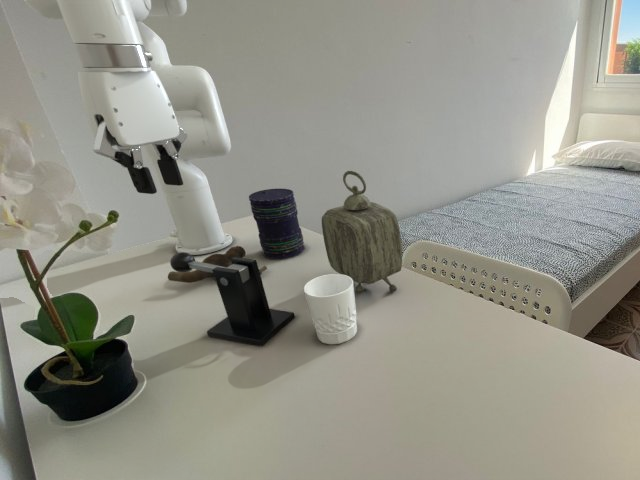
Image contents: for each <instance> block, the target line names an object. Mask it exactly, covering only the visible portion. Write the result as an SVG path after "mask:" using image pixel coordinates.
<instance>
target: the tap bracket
mask: <svg viewBox="0 0 640 480" xmlns="http://www.w3.org/2000/svg"><path fill="white" fill-rule="evenodd" d="M231 262H232V264H238V265H243V266H248V270H249V275H250V279H248V280H247V281H245V282H244V283H243V282H242V279H241V275H240V272H239V270H236V269H228V268H221V267H216V268H214V269H212V271H213V274H214V280H215V283H216V287H217V288H218V292H219V295H220V298H221V301H222V304H223V307H224V310H225V314H226V317H225V318H223V319H222V320H221V321H219V322H218V323H216V324H215V325H213V326H212V327H211V328H209V329H208V330H206V334H207V336H208V338H212V339H213V338H214V339H220V340H224V341H231V342H236V343H241V344H247V345H253V346H257V347H258V346H259V347H263V346H264V345H265V344H267V343H268V342H269V341H270V340H271V339H273V337H275V336H276V335H277V334H278V333H279V332H281V331H282V330H283V329H285V328H286V326H288V325H289V324H290V323H291V322H292V321H293V320H294V319H295V318H296V316H295V312H293V311H286V310H280V309H274V308H270V305H269V302H268V298H267V294H266V291H265V287H264V283H263V280H262V275H260V272H259V269H260V268H259V265H258V261H257V259H254V258H246V257H243V258H239V257H234V258H232V259H231Z"/></svg>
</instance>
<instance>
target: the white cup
mask: <svg viewBox="0 0 640 480" xmlns="http://www.w3.org/2000/svg"><path fill="white" fill-rule="evenodd" d="M303 293H304V296H305V299H306V304H307V307H308V310H309V314H310V317H311V320H312V323H313V326H314V328H315V332H316V336H317V339H318V340H319V341H320V342H321V343H323V344H327V345H339V344H344V343H345V342H348V341H350V340H351V339H352V338H354V337H355V336H356V334H357V332H358V326H357V306H356V296H355V287H354V281H353V280H352V278H351V277H349V276H347V275H343V274H339V273H331V274H329V273H328V274H324V275H323V274H322V275H320V276H317V277H314V278H312V279H310V280H308V281H307V282H306V283H305V285H304V286H303Z"/></svg>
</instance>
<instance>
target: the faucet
mask: <svg viewBox="0 0 640 480" xmlns="http://www.w3.org/2000/svg"><path fill="white" fill-rule="evenodd" d="M245 256H246V250H245V248H244V247H242V246H241V245H236V246H231V247H229V248H228V250H227V251H226V252H225V253H214V254H211V255H209V256H207V257H205V258H204V259H203V260H202V262H203V263H207V264H212V265H217V266H222V267H229V266H230V265H232V262H231V259H232V258H234V257H239V258H245ZM267 270H268V266H266V265H263V266H262V267H260V268H259V272H260V276H262V275H263V272H265V271H267ZM167 279H168V280H169V282H170V281H172V282H178V283H179V282H180V283H187V284H189V283H190V284H191V283H196V282H201V281H203V280H206V279H215V277H214V274H213V273H211V272H206V271H202V270H197V269H194V270H191V271H189V272H186V273H180V272H177V271H175V270H174V271H172V270H171V271H170V272H168V274H167Z"/></svg>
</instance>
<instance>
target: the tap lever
mask: <svg viewBox="0 0 640 480" xmlns="http://www.w3.org/2000/svg"><path fill="white" fill-rule="evenodd" d="M169 263H170V266H171V269H172V270H174V272H180V273H186V272H192V271H193V270H202V271H206V272H211V273H213V271H212V269H214V268H216V267H221V268H228V269H236V270H239V272H240V275H241V279H242V282H243V283H244V282H245V281H247V280H248V279H250V275H249V270H248V266H243V265H238V264H232V265H230V266H229V267H222V266H217V265H212V264H207V263H203V261H196V258H195V257H194V255H191V254H189V253H185V252H180V253H178V252H176V253H175V254H173V255H172V257H171V259H170V261H169Z"/></svg>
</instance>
